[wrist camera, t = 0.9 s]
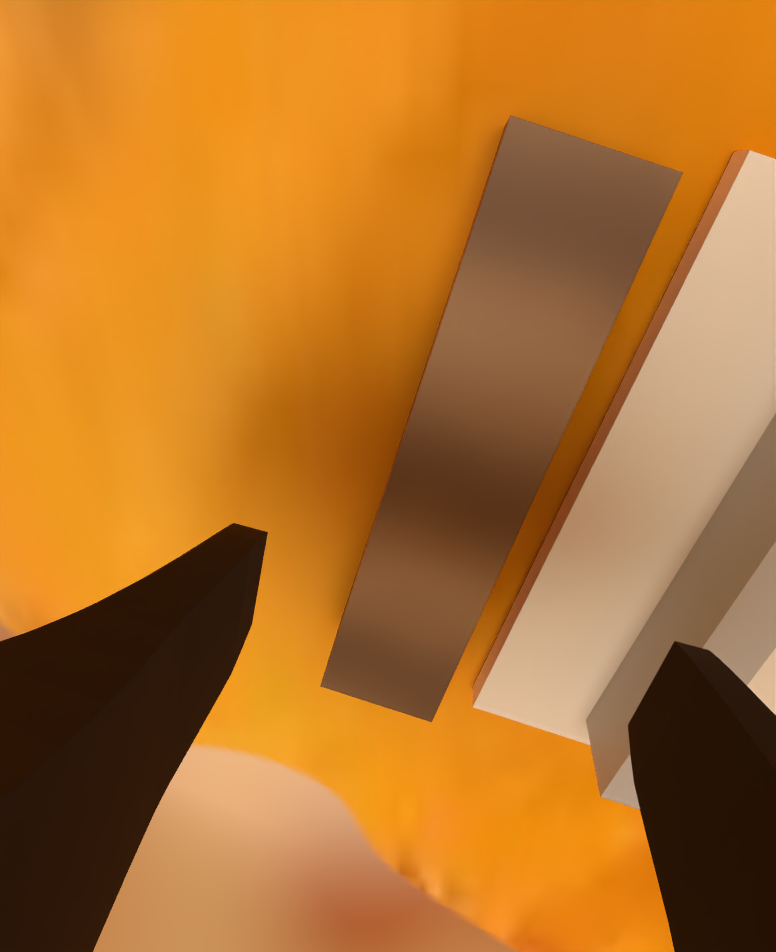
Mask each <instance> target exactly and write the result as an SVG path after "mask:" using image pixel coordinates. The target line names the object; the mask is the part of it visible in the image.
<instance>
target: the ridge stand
mask: <svg viewBox="0 0 776 952" xmlns="http://www.w3.org/2000/svg"><path fill="white" fill-rule="evenodd" d="M674 641H677V642H681V643H684V644H688V645H692V646H696V647H699V648H703V649H707V650H710V651H711V652H712V653H713V654H714V655H716V656H717V657H718V658H719V659H720V660H721V661H722V662H723V663H724V664H725V665H727V666H728V667H729V668H730V669H731V670H732V671H733V672H734V673H735V674H736V675H737V676H738V677H739V678H740V679H741V680H742V681H743V682H744V683H745V684H746V685H747V686H748V687H749V688H750V689H751V690H752V691H753V692H754V693H755V695H756V696H757V697H758V698H759V699H760V700H761V701H762V702H763V703H764V704H765V705H766V706H767V707H768V708H769V709H770V710H771V711H772V712H773V713H774V714H776V159H774V158H771V157H768V156H765V155H762V154H759V153H756V152H753V151H750V150H748V151H734V153H733V155H732V157H731V159H730V161H729V163H728V165H727V167H726V169H725V171H724V173H723V175H722V177H721V179H720V182H719V184H718V186H717V188H716V190H715V192H714V194H713V196H712V198H711V200H710V202H709V204H708V206H707V208H706V210H705V212H704V214H703V216H702V218H701V220H700V222H699V225H698V227H697V229H696V231H695V233H694V235H693V237H692V239H691V241H690V243H689V245H688V247H687V249H686V251H685V253H684V255H683V257H682V259H681V261H680V263H679V266H678V268H677V270H676V272H675V274H674V276H673V278H672V280H671V282H670V284H669V286H668V288H667V290H666V292H665V294H664V296H663V298H662V300H661V302H660V304H659V306H658V309H657V311H656V313H655V315H654V317H653V319H652V321H651V323H650V325H649V327H648V329H647V331H646V333H645V335H644V337H643V339H642V341H641V343H640V345H639V347H638V349H637V352H636V354H635V356H634V358H633V360H632V362H631V364H630V366H629V368H628V370H627V372H626V374H625V376H624V378H623V380H622V382H621V384H620V386H619V388H618V390H617V392H616V395H615V397H614V399H613V401H612V403H611V405H610V407H609V409H608V411H607V413H606V415H605V417H604V419H603V421H602V423H601V425H600V427H599V429H598V431H597V433H596V435H595V438H594V440H593V442H592V444H591V446H590V448H589V450H588V452H587V454H586V456H585V458H584V460H583V462H582V464H581V466H580V468H579V470H578V472H577V474H576V476H575V479H574V481H573V483H572V485H571V487H570V489H569V491H568V493H567V495H566V497H565V499H564V501H563V503H562V505H561V507H560V509H559V511H558V513H557V515H556V517H555V519H554V522H553V524H552V526H551V528H550V530H549V532H548V534H547V536H546V538H545V540H544V542H543V544H542V546H541V548H540V550H539V552H538V554H537V556H536V558H535V560H534V562H533V565H532V567H531V569H530V571H529V573H528V575H527V577H526V579H525V581H524V583H523V585H522V587H521V589H520V591H519V593H518V595H517V597H516V599H515V601H514V603H513V605H512V608H511V610H510V612H509V614H508V616H507V618H506V620H505V622H504V624H503V626H502V628H501V630H500V632H499V634H498V636H497V638H496V640H495V642H494V644H493V646H492V649H491V651H490V653H489V655H488V657H487V659H486V661H485V663H484V665H483V667H482V669H481V671H480V673H479V675H478V677H477V679H476V681H475V683H474V685H473V707H474V708H477V709H480V710H483V711H486V712H489V713H492V714H495V715H499V716H502V717H505V718H508V719H511V720H514V721H517V722H520V723H523V724H526V725H529V726H532V727H536V728H539V729H542V730H545V731H548V732H551V733H554V734H557V735H560V736H563V737H566V738H570V739H573V740H576V741H579V742H582V743H585V744H588V745H591V750H592V755H593V760H594V765H595V771H596V776H597V781H598V786H599V791H600V797H603V798H606V799H609V800H612V801H615V802H618V803H621V804H624V805H628V806H631V807H634V808H637V809H640V807H639V803H638V798H637V794H636V790H635V785H634V780H633V772H632V764H631V756H630V745H629V733H628V724H629V722H630V720H631V718H632V716H633V715H634V713H635V711H636V709H637V707H638V706H639V704H640V702H641V700H642V699H643V697H644V695H645V693H646V691H647V690H648V688H649V686H650V684H651V682H652V681H653V679H654V677H655V675H656V673H657V672H658V670H659V668H660V666H661V664H662V663H663V661H664V659H665V657H666V655H667V654H668V652H669V650H670V648H671V646H672V645H673V643H674Z"/></svg>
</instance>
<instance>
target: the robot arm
mask: <svg viewBox="0 0 776 952" xmlns="http://www.w3.org/2000/svg"><path fill="white" fill-rule="evenodd" d="M267 533H268V532H265V531H261V530H257V529H254V528H250V527H246V526H242V525H239V524H235V523H233V524H231V525H229V526H228V527H226V528H224V529H223V530H221V531H219V532H218V533H216V534H215V535H213V536H212V537H210V538H208V539H207V540H205V541H204V542H202V543H201V544H199V545H197V546H196V547H194V548H193V549H191V550H190V551H188V552H186V553H185V554H183V555H182V556H180V557H178V558H177V559H175V560H173V561H172V562H170V563H168V564H167V565H165V566H163V567H161V568H160V569H158V570H156V571H155V572H153V573H151V574H150V575H148V576H146V577H144V578H143V579H141V580H139V581H137V582H135V583H133V584H131V585H130V586H128V587H126V588H124V589H122V590H120V591H118V592H116V593H114V594H112V595H110V596H109V597H107V598H105V599H103V600H101V601H99V602H97V603H95V604H93V605H91V606H89V607H86V608H84V609H82V610H80V611H78V612H75V613H73V614H71V615H69V616H66V617H64V618H61V619H59V620H56V621H54V622H52V623H49V624H47V625H44V626H42V627H40V628H37V629H34V630H32V631H29V632H27V633H24V634H21V635H18V636H15V637H12V638H9V639H6V640H3V641H0V952H93V950H94V948H95V945H96V943H97V941H98V938H99V936H100V934H101V932H102V929H103V927H104V925H105V922H106V920H107V918H108V915H109V913H110V910H111V909H112V906H113V904H114V902H115V899H116V897H117V895H118V893H119V890H120V888H121V886H122V883H123V881H124V878H125V876H126V874H127V872H128V870H129V867H130V865H131V863H132V861H133V859H134V856H135V854H136V852H137V850H138V847H139V845H140V843H141V841H142V838H143V836H144V834H145V832H146V830H147V827H148V825H149V823H150V821H151V819H152V816H153V814H154V812H155V810H156V808H157V806H158V804H159V802H160V800H161V798H162V796H163V794H164V792H165V790H166V789H167V787H168V785H169V783H170V781H171V780H172V778H173V776H174V774H175V772H176V771H177V769H178V767H179V765H180V764H181V762H182V760H183V758H184V756H185V755H186V753H187V751H188V750H189V748H190V746H191V744H192V743H193V741H194V739H195V737H196V736H197V734H198V732H199V730H200V728H201V727H202V725H203V723H204V721H205V720H206V718H207V716H208V714H209V713H210V711H211V709H212V707H213V706H214V704H215V702H216V700H217V698H218V697H219V695H220V693H221V691H222V689H223V688H224V686H225V684H226V682H227V680H228V679H229V677H230V675H231V673H232V671H233V668H234V666H235V664H236V661H237V659H238V657H239V654H240V652H241V649H242V647H243V645H244V642H245V640H246V637H247V635H248V632H249V630H250V627H251V625H252V621H253V615H254V609H255V603H256V597H257V591H258V586H259V580H260V574H261V568H262V562H263V556H264V551H265V545H266V539H267ZM628 733H629V745H630V756H631V764H632V772H633V780H634V785H635V790H636V794H637V798H638V803H639V807H640V811H641V815H642V819H643V823H644V827H645V831H646V835H647V839H648V843H649V847H650V851H651V855H652V859H653V863H654V867H655V871H656V875H657V879H658V883H659V887H660V891H661V895H662V899H663V903H664V906H665V910H666V914H667V918H668V922H669V927H670V932H671V937H672V941H673V946H674V951H675V952H776V715H775V714H774V713H773V712H772V711H771V710H770V709H769V708H768V707H767V706H766V705H765V704H764V703H763V702H762V701H761V700H760V699H759V698H758V697H757V696H756V695H755V693H754V692H753V691H752V690H751V689H750V688H749V687H748V686H747V685H746V684H745V683H744V682H743V681H742V680H741V679H740V678H739V677H738V676H737V675H736V674H735V673H734V672H733V671H732V670H731V669H730V668H729V667H728V666H727V665H725V664H724V663H723V662H722V661H721V660H720V659H719V658H718V657H717V656H716V655H714V654H713V653H712V652H711V651H710V650H707V649H703V648H699V647H696V646H692V645H688V644H684V643H681V642H677V641H674V643H673V645H672V646H671V648H670V650H669V652H668V654H667V655H666V657H665V659H664V661H663V663H662V664H661V666H660V668H659V670H658V672H657V673H656V675H655V677H654V679H653V681H652V682H651V684H650V686H649V688H648V690H647V691H646V693H645V695H644V697H643V699H642V700H641V702H640V704H639V706H638V707H637V709H636V711H635V713H634V715H633V716H632V718H631V720H630V722H629V724H628Z"/></svg>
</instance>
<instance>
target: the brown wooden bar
mask: <svg viewBox="0 0 776 952" xmlns="http://www.w3.org/2000/svg"><path fill="white" fill-rule="evenodd" d="M681 176H682V172H679V171H676V170H673V169H670V168H667V167H664V166H661V165H658V164H655V163H652V162H649V161H646V160H643V159H640V158H637V157H634V156H631V155H628V154H625V153H622V152H619V151H616V150H613V149H610V148H607V147H604V146H601V145H598V144H595V143H592V142H589V141H586V140H583V139H580V138H577V137H574V136H571V135H568V134H565V133H562V132H559V131H556V130H553V129H550V128H547V127H544V126H541V125H538V124H535V123H532V122H529V121H526V120H523V119H520V118H517V117H514V116H510V118H509V119H508V121H507V123H506V125H505V128H504V131H503V134H502V137H501V140H500V143H499V146H498V149H497V152H496V155H495V158H494V161H493V164H492V167H491V170H490V173H489V176H488V179H487V182H486V185H485V188H484V191H483V194H482V197H481V200H480V203H479V206H478V209H477V212H476V215H475V218H474V221H473V224H472V227H471V230H470V233H469V236H468V239H467V242H466V245H465V248H464V251H463V254H462V257H461V260H460V263H459V266H458V269H457V272H456V275H455V278H454V281H453V284H452V287H451V290H450V293H449V296H448V299H447V302H446V305H445V308H444V311H443V314H442V317H441V320H440V323H439V326H438V330H437V333H436V336H435V339H434V342H433V345H432V348H431V351H430V354H429V357H428V360H427V363H426V366H425V369H424V372H423V375H422V378H421V381H420V384H419V387H418V390H417V393H416V396H415V399H414V402H413V405H412V408H411V411H410V414H409V417H408V420H407V423H406V426H405V429H404V432H403V435H402V438H401V441H400V444H399V447H398V450H397V453H396V456H395V459H394V462H393V465H392V468H391V471H390V474H389V477H388V480H387V483H386V486H385V489H384V492H383V495H382V498H381V501H380V504H379V507H378V510H377V513H376V516H375V519H374V522H373V525H372V528H371V531H370V534H369V537H368V540H367V543H366V546H365V549H364V552H363V555H362V558H361V561H360V564H359V567H358V570H357V573H356V577H355V580H354V583H353V586H352V589H351V592H350V595H349V598H348V601H347V604H346V607H345V610H344V613H343V616H342V619H341V622H340V625H339V628H338V631H337V635H336V638H335V641H334V644H333V647H332V651H331V654H330V657H329V660H328V663H327V667H326V670H325V673H324V676H323V680H322V683H321V687H324V688H327V689H330V690H334V691H337V692H340V693H343V694H346V695H349V696H352V697H355V698H358V699H361V700H365V701H368V702H371V703H374V704H377V705H380V706H383V707H386V708H389V709H392V710H396V711H399V712H402V713H405V714H408V715H411V716H414V717H417V718H420V719H423V720H427V721H430V722H432V720H433V718H434V716H435V714H436V711H437V709H438V707H439V705H440V703H441V700H442V698H443V696H444V694H445V692H446V690H447V687H448V685H449V683H450V681H451V679H452V676H453V674H454V672H455V670H456V668H457V665H458V663H459V661H460V659H461V657H462V655H463V652H464V650H465V648H466V646H467V644H468V641H469V639H470V637H471V635H472V633H473V630H474V628H475V626H476V624H477V622H478V620H479V617H480V615H481V613H482V611H483V609H484V606H485V604H486V602H487V600H488V598H489V595H490V593H491V591H492V589H493V587H494V585H495V582H496V580H497V578H498V576H499V574H500V571H501V569H502V567H503V565H504V563H505V561H506V558H507V556H508V554H509V552H510V550H511V547H512V545H513V543H514V541H515V539H516V536H517V534H518V532H519V530H520V528H521V526H522V523H523V521H524V519H525V517H526V515H527V512H528V510H529V508H530V506H531V504H532V501H533V499H534V497H535V495H536V493H537V491H538V488H539V486H540V484H541V482H542V480H543V477H544V475H545V473H546V471H547V469H548V466H549V464H550V462H551V460H552V458H553V456H554V453H555V451H556V449H557V447H558V445H559V442H560V440H561V438H562V436H563V434H564V432H565V429H566V427H567V425H568V423H569V421H570V418H571V416H572V414H573V412H574V410H575V407H576V405H577V403H578V401H579V399H580V397H581V394H582V392H583V390H584V388H585V386H586V383H587V381H588V379H589V377H590V375H591V372H592V370H593V368H594V366H595V364H596V362H597V359H598V357H599V355H600V353H601V351H602V348H603V346H604V344H605V342H606V340H607V337H608V335H609V333H610V331H611V329H612V327H613V324H614V322H615V320H616V318H617V316H618V313H619V311H620V309H621V307H622V305H623V303H624V300H625V298H626V296H627V294H628V292H629V289H630V287H631V285H632V283H633V281H634V278H635V276H636V274H637V272H638V270H639V268H640V265H641V263H642V261H643V259H644V257H645V254H646V252H647V250H648V248H649V246H650V243H651V241H652V239H653V237H654V235H655V233H656V230H657V228H658V226H659V224H660V222H661V219H662V217H663V215H664V213H665V211H666V208H667V206H668V204H669V202H670V200H671V198H672V195H673V193H674V191H675V189H676V187H677V184H678V182H679V180H680V178H681Z"/></svg>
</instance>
